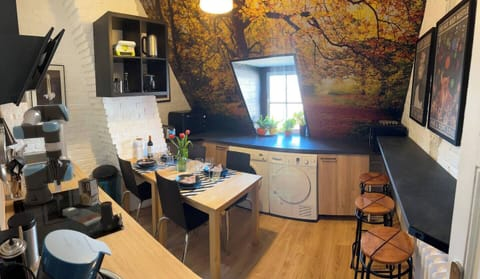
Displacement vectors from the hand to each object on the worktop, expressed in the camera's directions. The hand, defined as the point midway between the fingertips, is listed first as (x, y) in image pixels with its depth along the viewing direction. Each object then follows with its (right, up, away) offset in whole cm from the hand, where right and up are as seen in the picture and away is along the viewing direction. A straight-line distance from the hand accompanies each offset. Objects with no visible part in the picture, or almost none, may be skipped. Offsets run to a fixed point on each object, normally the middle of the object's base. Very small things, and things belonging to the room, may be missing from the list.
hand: (58, 190), depth 169 cm
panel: (+16, -14, -4) cm, 22 cm away
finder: (+8, -13, -2) cm, 16 cm away
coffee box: (+11, -11, +14) cm, 21 cm away
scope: (+37, -17, -17) cm, 44 cm away
